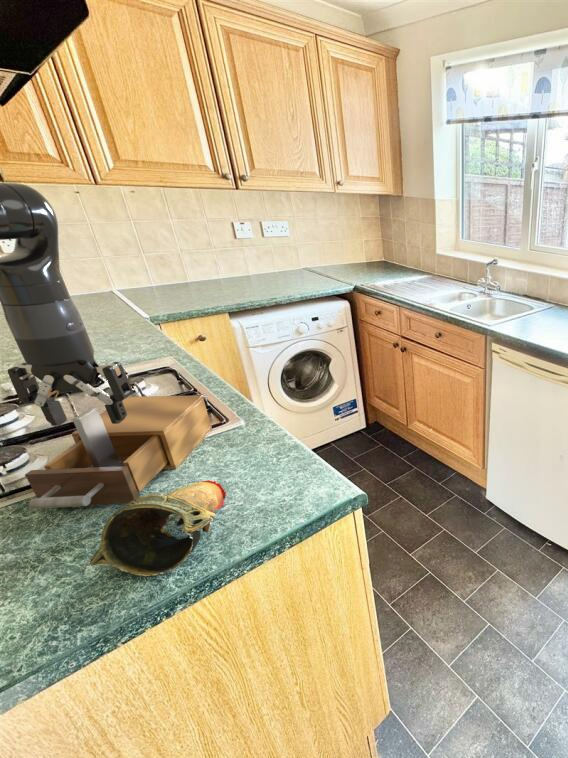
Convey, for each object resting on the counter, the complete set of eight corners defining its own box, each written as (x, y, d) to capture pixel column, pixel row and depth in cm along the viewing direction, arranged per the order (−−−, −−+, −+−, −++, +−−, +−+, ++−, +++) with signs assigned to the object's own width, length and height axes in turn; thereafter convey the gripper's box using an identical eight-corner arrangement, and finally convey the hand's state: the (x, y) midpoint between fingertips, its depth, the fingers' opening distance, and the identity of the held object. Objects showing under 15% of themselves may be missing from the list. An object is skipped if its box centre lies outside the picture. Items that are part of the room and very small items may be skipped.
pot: (248, 449, 73) (181, 487, 55) (274, 507, 74) (218, 562, 57) (147, 484, 71) (45, 535, 53) (176, 542, 73) (87, 610, 55)
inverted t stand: (73, 490, 71) (41, 423, 65) (98, 468, 76) (70, 405, 71) (127, 487, 72) (99, 421, 67) (148, 466, 78) (124, 404, 72)
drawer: (116, 523, 66) (101, 489, 63) (16, 530, 64) (-5, 495, 61) (179, 456, 83) (169, 427, 80) (101, 459, 80) (88, 429, 77)
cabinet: (176, 468, 81) (163, 430, 77) (88, 472, 78) (70, 433, 74) (212, 429, 94) (202, 395, 90) (138, 431, 91) (125, 396, 87)
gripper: (120, 322, 67) (151, 410, 74) (15, 321, 65) (58, 413, 72) (86, 337, 61) (123, 432, 67) (-33, 337, 58) (19, 436, 65)
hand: (89, 422), depth 70 cm, fingers open, 8 cm apart
